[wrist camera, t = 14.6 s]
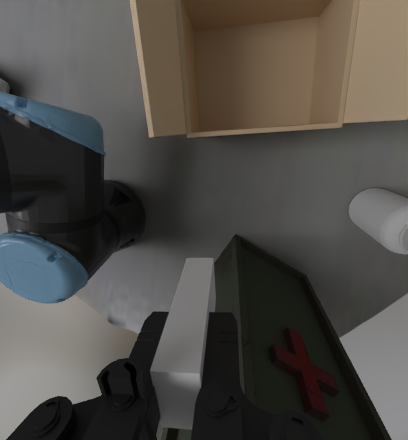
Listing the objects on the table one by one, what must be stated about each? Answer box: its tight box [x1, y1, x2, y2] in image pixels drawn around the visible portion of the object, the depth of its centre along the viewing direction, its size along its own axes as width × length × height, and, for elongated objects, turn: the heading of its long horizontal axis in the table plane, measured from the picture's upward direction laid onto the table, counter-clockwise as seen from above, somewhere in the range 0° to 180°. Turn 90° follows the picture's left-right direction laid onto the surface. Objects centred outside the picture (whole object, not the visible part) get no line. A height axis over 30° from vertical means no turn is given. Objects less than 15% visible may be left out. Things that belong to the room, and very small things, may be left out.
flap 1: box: [130, 0, 186, 137], centre depth 26 cm, size 8×15×1 cm
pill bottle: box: [349, 188, 408, 254], centre depth 38 cm, size 8×8×15 cm
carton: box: [175, 0, 360, 138], centre depth 34 cm, size 20×16×12 cm
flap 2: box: [343, 0, 408, 123], centre depth 23 cm, size 8×15×1 cm
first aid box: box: [161, 234, 391, 440], centre depth 35 cm, size 18×18×40 cm
